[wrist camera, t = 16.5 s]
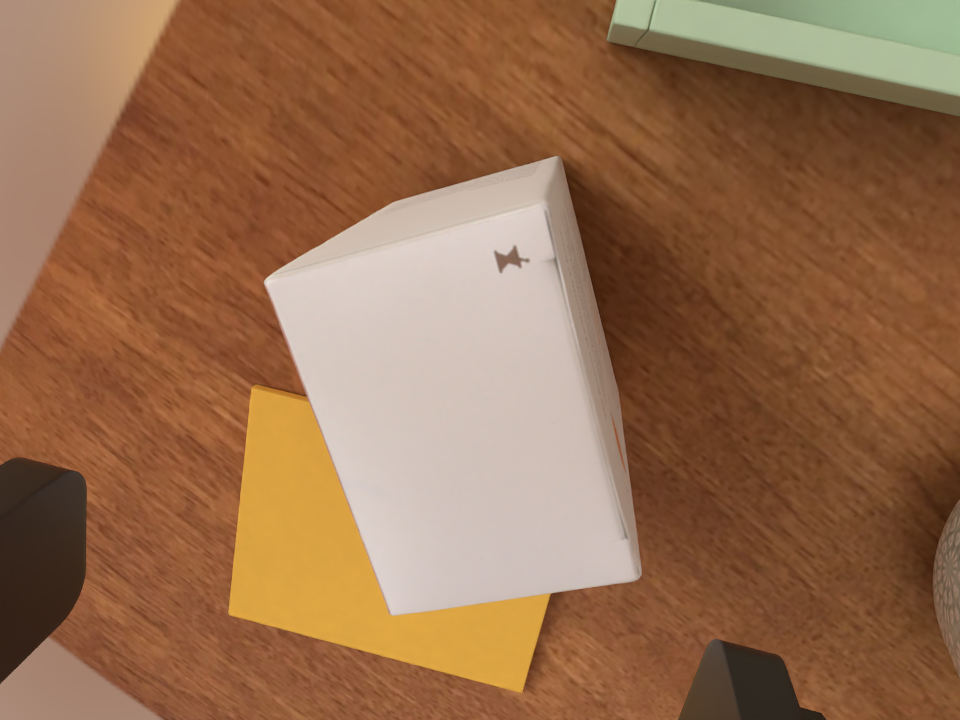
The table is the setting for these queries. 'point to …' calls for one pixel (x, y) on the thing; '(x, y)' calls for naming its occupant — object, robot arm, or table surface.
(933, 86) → the sage bin
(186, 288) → the table surface
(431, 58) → the table surface
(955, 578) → the planter
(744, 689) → the robot arm
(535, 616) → the ochre mat
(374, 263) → the small box
